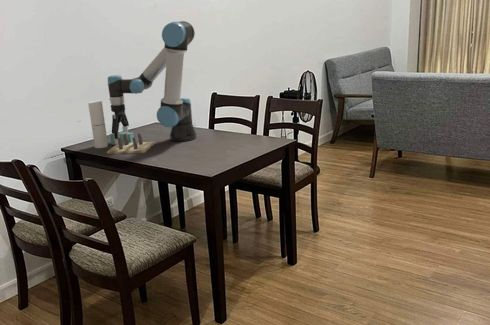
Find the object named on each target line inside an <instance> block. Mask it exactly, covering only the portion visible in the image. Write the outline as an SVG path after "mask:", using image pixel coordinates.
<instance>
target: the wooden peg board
mask: <svg viewBox="0 0 490 325" xmlns="http://www.w3.org/2000/svg"><path fill="white" fill-rule="evenodd" d="M137 135H138V136H137V137H136V136H134V137H133V142H131V143H128V135H127V134H124V141H125V143H122V138H118V144H117V145H114V146H113V147H111V148H110V149H109V150H108V151H107V152H106V153H107V155H112V154H113V155H115V154H116V155H117V154H120V155H121V154H123V155H124V154H145V153H146V152H147V151H148V150H149V149H151V148H152V147H153V146H154V145H155V141H143V134H142V132H139V133H137ZM137 139H138V140H137ZM151 146H152V147H151Z"/></svg>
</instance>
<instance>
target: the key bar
mask: <svg viewBox="0 0 490 325" xmlns="http://www.w3.org/2000/svg"><path fill="white" fill-rule="evenodd" d="M124 134H127V135H128V143H131V142H133V137H135V136H134V135H135V134H134V132H129V131H128V132H123V131H122V132H119V137H120V138H122V143H125V141H124ZM109 138H110V145H111V146H112V145H114V146H115V145H117V144H115V139H114V133H112V132H111V133H110V134H109Z"/></svg>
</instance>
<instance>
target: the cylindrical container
mask: <svg viewBox="0 0 490 325" xmlns="http://www.w3.org/2000/svg"><path fill="white" fill-rule="evenodd" d="M87 103H88V110H89V111H88V112H89V117H90V123H91V131H92V137H93V138H92V139H93V145H94V149H103V148H107V147H109V143H108V142H109V141H108V135H107V130H106V129H107V128H106V122H105V115H104V107H103V101H102V100H92V101H88V102H87Z"/></svg>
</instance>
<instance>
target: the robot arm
mask: <svg viewBox="0 0 490 325" xmlns="http://www.w3.org/2000/svg"><path fill="white" fill-rule="evenodd" d="M195 35H196V34H195V29H194V26H193V25H192V24H191V23H190V22H188V21H185V20H184V21H183V20H182V21H172V22H169V23H167V24H166V25H165V26H164V27H163V28H162V32H161V39H162V41H163V42H164V46H163V48H162V49H161V51H160V52H158V54H157V55H156V56H155V58H154V59H152V61H151V62H150V63H149V65H147V67H146V68H145V69H144V70H143V71H142V72H141V74H140V75H139V76H138V77H134V78H131V79H130V78H129V79H128V78H127V79H125V78H124V79H123V78H122V75H119V74H115V75H109V76H108V77H107V87H108V88H107V89H108V94H109V99H108V100H109V102H110V109H111V112H112V113H114V114H111V117H112V121H111V134H112V133H114V139H115V144H118V138H120V137H119V133H120V132H119V127H120V125H122V133H123V132H129V128H128V127H129V125H130V124H129V121H128V117H127V115H126V105H125V96H124V94H135V95H136V94H142V93H143V91H144V90H148V89H150V88H151V87H152V85H153V82H155V80H156V79H157V77H158V76H159V75H160V74H162V72H163V71H164V70H165V78H164V92H163V97H162V98H161V99H160V107H159V108H158V109H157V112H156V119H157V121H158V123H159V124H160V125H161V126H163V127H166V128H171V129H170V134H169V140H170V141H172V142H188V141H193V140H195V139H197V136H198V134H197V131H196V128H195V126H194V125H193V114H192V102H191V99H190V98H188V97H186V98H185V97H181V94H182V81H183V70H184V68H183V67H184V58H185V56H184V55H185V53H186V52H187V51H188V46H189V45H190V44H191V43H192V42H193V40H194V39H195Z"/></svg>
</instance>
